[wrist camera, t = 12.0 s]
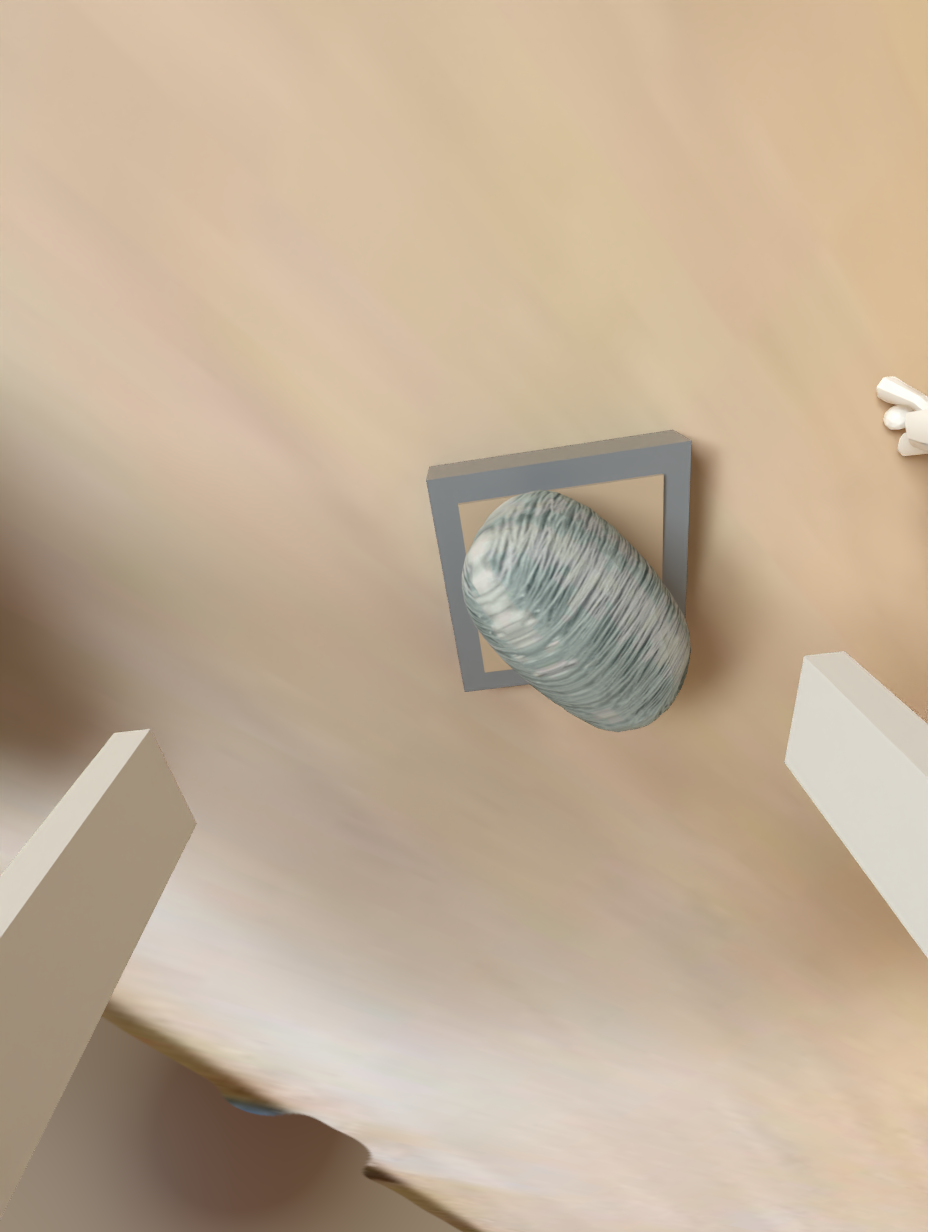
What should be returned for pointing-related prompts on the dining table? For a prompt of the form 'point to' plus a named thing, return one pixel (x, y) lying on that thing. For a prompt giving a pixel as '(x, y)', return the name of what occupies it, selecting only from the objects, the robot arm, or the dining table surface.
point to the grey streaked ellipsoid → (576, 611)
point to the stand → (588, 473)
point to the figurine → (906, 414)
